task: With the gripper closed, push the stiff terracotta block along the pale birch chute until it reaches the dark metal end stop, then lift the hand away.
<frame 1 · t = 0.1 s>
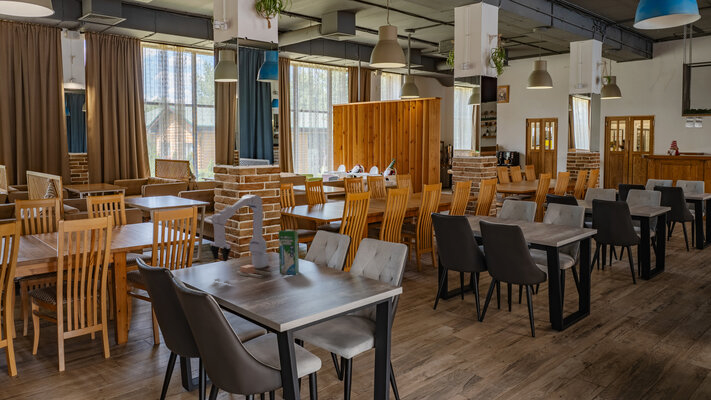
hand: (220, 260, 293), 10 cm above the table, tool pointing down, fingers open, 7 cm apart
milk carton: (289, 273, 304), on the table
chute: (254, 276, 296), on the table
block: (247, 269, 299), point 3 cm above the table, slide at 0.0 cm
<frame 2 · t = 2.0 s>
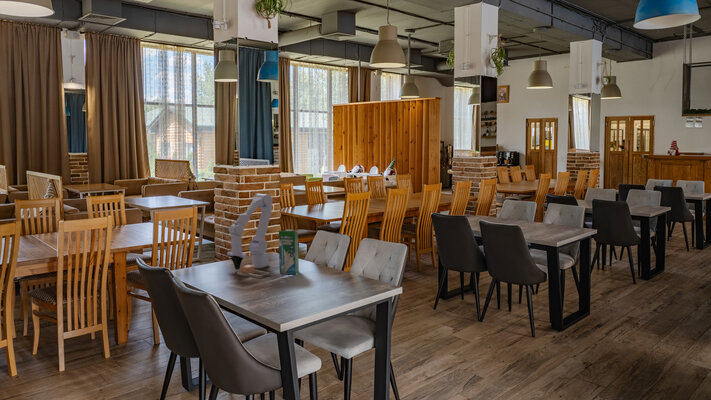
hand: (237, 269, 304), 2 cm above the table, tool pointing down, fingers closed
nothing on the table moved.
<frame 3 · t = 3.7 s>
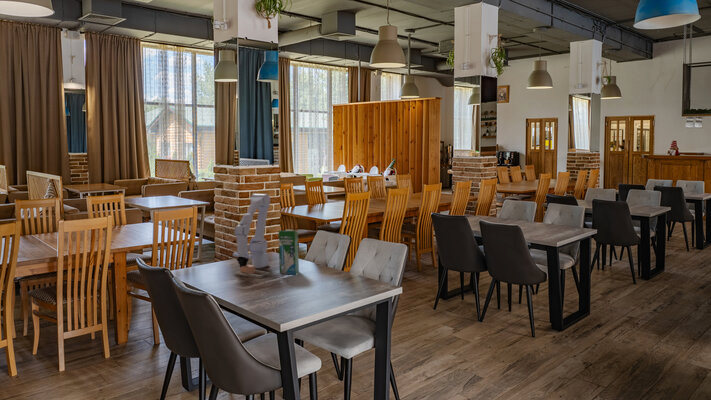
hand: (243, 270, 301), 2 cm above the table, tool pointing down, fingers closed
block: (247, 269, 299), point 3 cm above the table, slide at 0.2 cm, touching gripper
everything else where it was.
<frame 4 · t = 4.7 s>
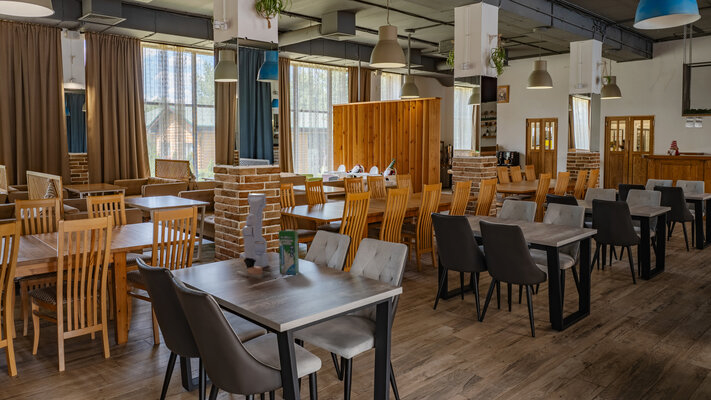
hand: (250, 271, 298), 2 cm above the table, tool pointing down, fingers closed
block: (255, 271, 295), point 3 cm above the table, slide at 6.1 cm, touching gripper
everything else where it was.
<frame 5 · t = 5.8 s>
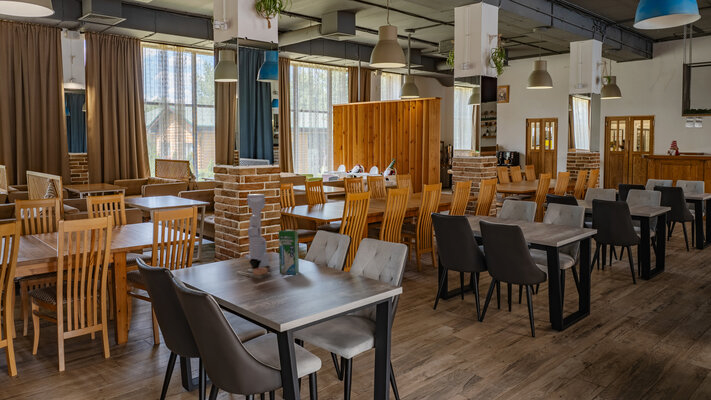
hand: (255, 272, 295), 2 cm above the table, tool pointing down, fingers closed
block: (260, 272, 293), point 3 cm above the table, slide at 10.1 cm, touching gripper
everything else where it was.
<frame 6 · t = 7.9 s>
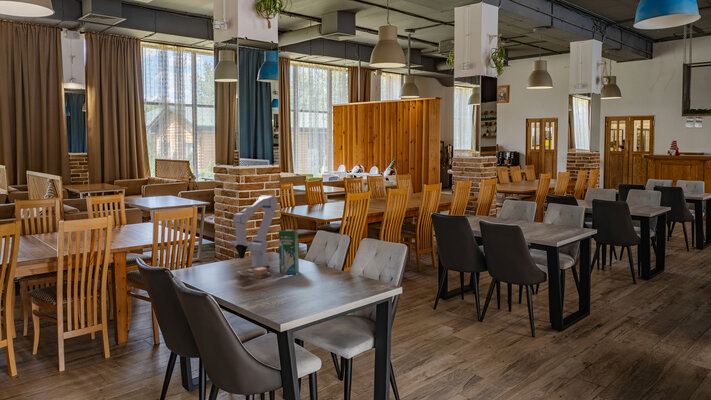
hand: (241, 258, 303), 9 cm above the table, tool pointing down, fingers closed
block: (260, 272, 293), point 3 cm above the table, slide at 10.0 cm
everything else where it was.
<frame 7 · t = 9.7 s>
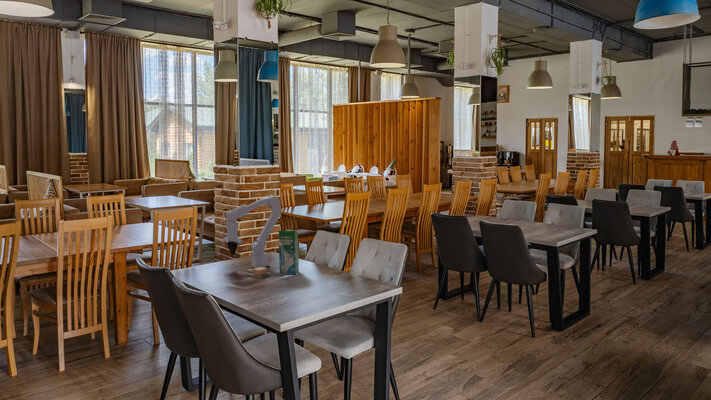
hand: (232, 254, 310), 9 cm above the table, tool pointing down, fingers closed
nothing on the table moved.
at the end: block slide at 10.0 cm; the gripper is holding nothing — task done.
